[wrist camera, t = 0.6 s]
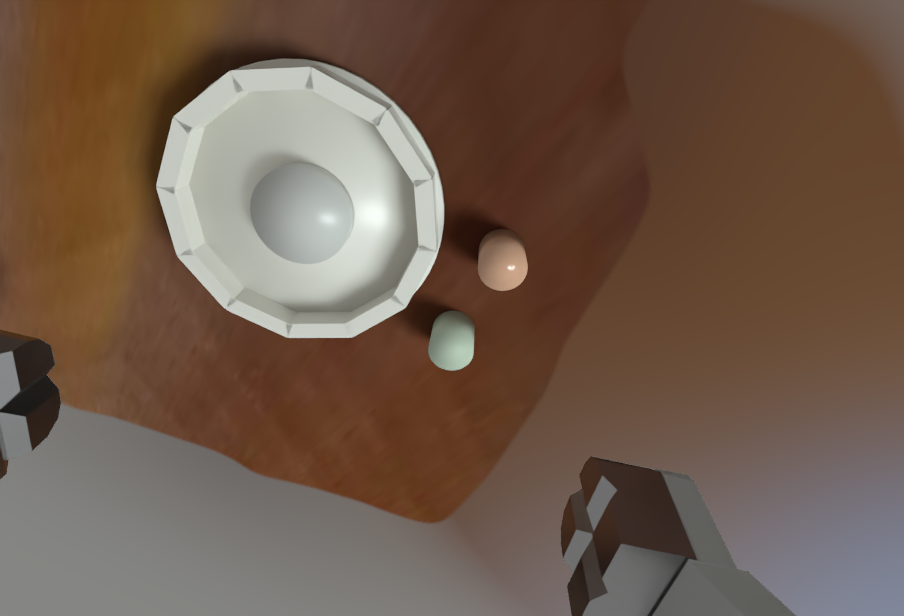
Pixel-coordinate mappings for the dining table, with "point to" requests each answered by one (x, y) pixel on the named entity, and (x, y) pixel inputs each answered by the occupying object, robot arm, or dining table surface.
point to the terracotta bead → (502, 260)
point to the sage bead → (452, 340)
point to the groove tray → (310, 134)
